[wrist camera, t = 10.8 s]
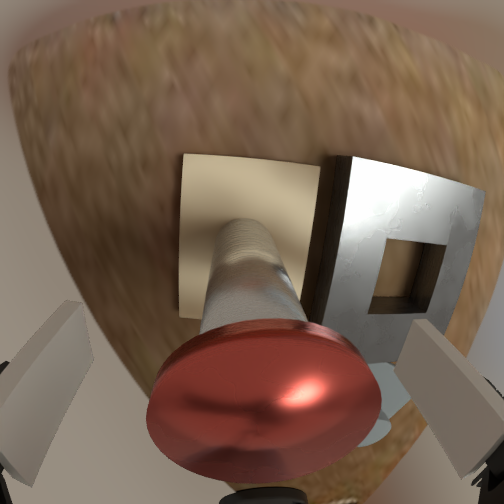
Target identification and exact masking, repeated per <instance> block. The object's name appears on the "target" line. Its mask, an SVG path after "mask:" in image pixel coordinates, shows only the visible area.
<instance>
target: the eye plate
mask: <svg viewBox="0 0 504 504" xmlns="http://www.w3.org/2000/svg"><path fill="white" fill-rule="evenodd" d="M485 192H486V191H483V190H480V189H477V188H474V187H471V186H468V185H465V184H462V183H458V182H455V181H452V180H448V179H445V178H442V177H438V176H434V175H431V174H427V173H423V172H420V171H416V170H412V169H408V168H404V167H400V166H395V165H391V164H387V163H382V162H377V161H373V160H368V159H363V158H358V157H352V156H341V155H337V160H336V168H335V176H334V184H333V191H332V198H331V204H330V211H329V218H328V224H327V230H326V236H325V242H324V248H323V253H322V259H321V264H320V270H319V275H318V280H317V285H316V290H315V295H314V300H313V305H312V309H311V314H310V319H309V322H311V323H315V324H318V325H321V326H324V327H327V328H329V329H331V330H333V331H335V332H337V333H339V334H341V335H342V336H344V337H345V338H347V339H348V340H349V341H351V342H352V343H353V344H354V345H355V346H356V347H357V349H358V350H359V351H360V353H361V354H362V356H363V357H364V359H365V361H366V363H367V364H374V363H385V362H394V361H397V360H398V358H399V356H400V353H401V351H402V348H403V346H404V343H405V340H406V338H407V335H408V332H409V330H410V327H411V324H412V321H413V319H427V320H428V321H429V322H430V323H431V324H432V325H433V326H434V327H435V328H436V329H437V330H438V331H439V332H440V333H441V334H442V335H443V336H444V334H445V331H446V329H447V326H448V324H449V321H450V319H451V316H452V314H453V311H454V308H455V306H456V303H457V300H458V297H459V295H460V292H461V289H462V286H463V283H464V280H465V276H466V273H467V270H468V267H469V263H470V260H471V256H472V252H473V249H474V245H475V241H476V237H477V232H478V228H479V223H480V219H481V214H482V209H483V203H484V198H485ZM387 238H390V239H399V240H408V241H416V242H425V244H424V249H423V253H422V257H421V260H420V264H419V268H418V271H417V275H416V278H415V282H414V285H413V289H412V292H411V295H410V297H372V296H373V292H374V289H375V285H376V281H377V277H378V273H379V269H380V265H381V261H382V257H383V253H384V248H385V244H386V239H387Z"/></svg>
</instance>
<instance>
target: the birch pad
mask: <svg viewBox="0 0 504 504" xmlns="http://www.w3.org/2000/svg"><path fill="white" fill-rule="evenodd" d="M319 175H320V166H314V165H307V164H300V163H292V162H284V161H275V160H266V159H256V158H245V157H233V156H220V155H204V154H184V157H183V171H182V187H181V207H180V235H179V317H182V318H194V319H202V315H203V308H204V302H205V296H206V290H207V285H208V279H209V273H210V267H211V262H212V256H213V251H214V245H215V240H216V237H217V234H218V233H219V231H220V230H221V228H222V227H223V226H224V225H226V224H227V223H229V222H230V221H233V220H235V219H240V218H249V219H253V220H256V221H258V222H260V223H262V224H263V225H264V226H265V227H266V228H267V229H268V231H269V232H270V234H271V236H272V238H273V241H274V243H275V245H276V248H277V250H278V252H279V254H280V257H281V259H282V261H283V264H284V266H285V268H286V271H287V273H288V275H289V278H290V280H291V282H292V285H293V287H294V289H295V292H296V294H297V296H298V299H299V301H300V296H301V291H302V286H303V280H304V274H305V268H306V263H307V257H308V251H309V244H310V238H311V232H312V225H313V218H314V212H315V205H316V197H317V190H318V182H319Z"/></svg>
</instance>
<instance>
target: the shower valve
mask: <svg viewBox="0 0 504 504" xmlns="http://www.w3.org/2000/svg"><path fill="white" fill-rule="evenodd" d="M368 366H369V368H370V370H371V371H372V373H373V375H374V377H375V379H376V380H377V382H378V385H379V387H380V390H381V397H382V404H381V410H380V414H379V417H378V419H377V421H376V423H375V425H374V427H373V428H372V430H371V431H370V433H369V434H368V435H367V437H366V438H365V439H364V440H363V441H362V442H361V443H360V444H359V445H358V446H357V447H362V446H367V445H370V444H373V443H375V442H377V441H379V440H380V439H382V438H383V437H384V436H385V435H386V434H387V433H388V432H389V431H390V429H391V423H390V421H389V418H390V417H392V416H393V415H394V414H395V413H396V412H397V411H398V410H399V409H400V408H402V407H403V406H404V405H405V404H406V403H407V402H408V401H409V400H410V399H411V397H410V395H409V394H408V392H407V391H406V389H405V388H404V386H403V385H402V383H401V382H400V380H399V379H398V377H397V376H396V374H395V373H394V371H393V370H394V367H395V365H394V364H392V363H390V362H385V363H374V364H368Z"/></svg>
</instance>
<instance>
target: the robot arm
mask: <svg viewBox="0 0 504 504" xmlns="http://www.w3.org/2000/svg"><path fill="white" fill-rule="evenodd" d="M93 361H94V358H93V354H92V350H91V346H90V341H89V336H88V332H87V327H86V321H85V316H84V310H83V304H82V303H81V302H74V301H68V300H66V301H65V302H64V303H63V304H62V305H61V306H60V307H59V308H58V309H57V310H56V311H55V312H54V313H53V314H52V315H51V316H50V318H49V319H48V320H47V321H46V322H45V323H44V324H43V325H42V326H41V328H39V330H38V331H37V332H36V333H35V334H34V335H33V336H32V338H30V340H29V341H28V342H27V343H26V344H25V345H24V347H23V348H22V349H21V350H20V351H19V352H18V354H17V355H16V356H15V357H14V359H12V361H11V362H8V361H5V362H3V363H2V364H0V504H12V501H11V498H10V495H9V492H8V488H7V485H6V482H5V479H4V478H3V475H2V474H1V473H2V471H3V469H5V470H6V471H7V472H8V473H9V474H10V475H11V476H12V478H14V479H16V480H18V481H20V482H22V483H24V484H26V485H28V486H30V487H32V486H33V484H34V481H35V479H36V476H37V474H38V472H39V469H40V467H41V465H42V462H43V460H44V458H45V455H46V453H47V451H48V449H49V446H50V444H51V442H52V440H53V438H54V436H55V434H56V431H57V429H58V427H59V425H60V423H61V421H62V419H63V417H64V415H65V413H66V411H67V409H68V407H69V405H70V403H71V401H72V400H73V398H74V396H75V394H76V392H77V390H78V388H79V386H80V384H81V383H82V381H83V379H84V377H85V375H86V373H87V372H88V370H89V368H90V366H91V364H92V363H93ZM393 371H394V373H395V374H396V376H397V377H398V379H399V380H400V382H401V383H402V385H403V386H404V388H405V389H406V391H407V392H408V394H409V395H410V397H411V398H412V400H413V401H414V403H415V405H416V406H417V408H418V409H419V411H420V412H421V414H422V416H423V417H424V419H425V420H426V422H427V423H428V425H429V427H430V428H431V430H432V431H433V433H434V435H435V436H436V438H437V439H438V441H439V443H440V444H441V446H442V448H443V449H444V451H445V453H446V454H447V456H448V458H449V459H450V461H451V463H452V465H453V466H454V468H455V470H456V471H457V473H458V475H459V477H460V478H461V480H462V479H463V478H465V477H467V476H469V475H471V474H473V473H475V472H476V471H477V470H478V469H479V468H480V467H481V466H482V465H483V464H484V463H485V462H486V464H487V465H488V466H487V467H486V468H485V469H484V470H483V471H482V472H481V473H480V474H479V475H478V476H477V477H476V478H475V479H474V480H473V481H472V484H471V485H472V486H473V485H474V484H476V483H477V482H478V481H479V480H480V479H481V478H482V480H481V481H480V482H479V483H478V484H477V487H481V489H480V495H479V501H478V504H504V397H502V394H500V392H499V391H498V390H496V388H495V387H494V385H492V383H491V382H490V381H489V380H487V379H486V378H485V377H483V376H482V375H480V373H479V372H478V371H477V370H476V369H475V368H474V367H473V366H472V365H471V364H470V362H469V361H468V360H467V359H466V358H465V357H464V356H463V355H462V354H461V353H460V352H459V351H458V350H457V349H456V348H455V347H454V346H453V345H452V344H451V343H450V342H449V341H448V340H447V339H446V338H445V337H444V336H443V335H442V334H441V333H440V332H439V331H438V330H437V329H436V328H435V327H434V326H433V325H432V324H431V323H430V322H429V321H428V320H427V319H413V321H412V324H411V327H410V330H409V332H408V335H407V338H406V340H405V343H404V346H403V348H402V351H401V353H400V356H399V358H398V360H397V363H396V365H395V367H394V370H393ZM219 504H308V500H307V495H306V494H305V493H304V492H303V491H300V490H297V489H292V488H259V489H251V490H245V491H240V492H236V493H233V494H230V495H227V496H225V497H224V498H222V499H221V500H220V502H219Z"/></svg>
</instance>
